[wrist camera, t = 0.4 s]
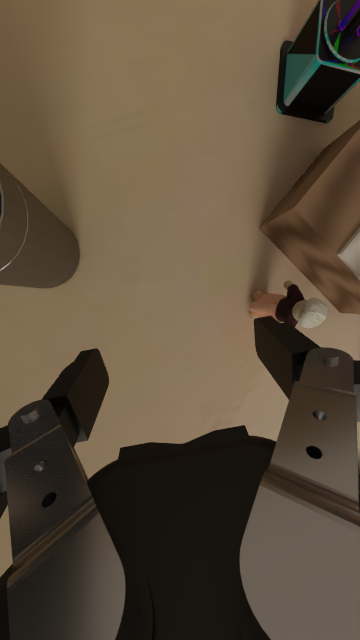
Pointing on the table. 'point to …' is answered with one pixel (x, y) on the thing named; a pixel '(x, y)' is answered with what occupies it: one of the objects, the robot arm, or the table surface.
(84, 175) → the table surface
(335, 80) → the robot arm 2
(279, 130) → the table surface
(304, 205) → the stand
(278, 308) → the grandmother figurine
